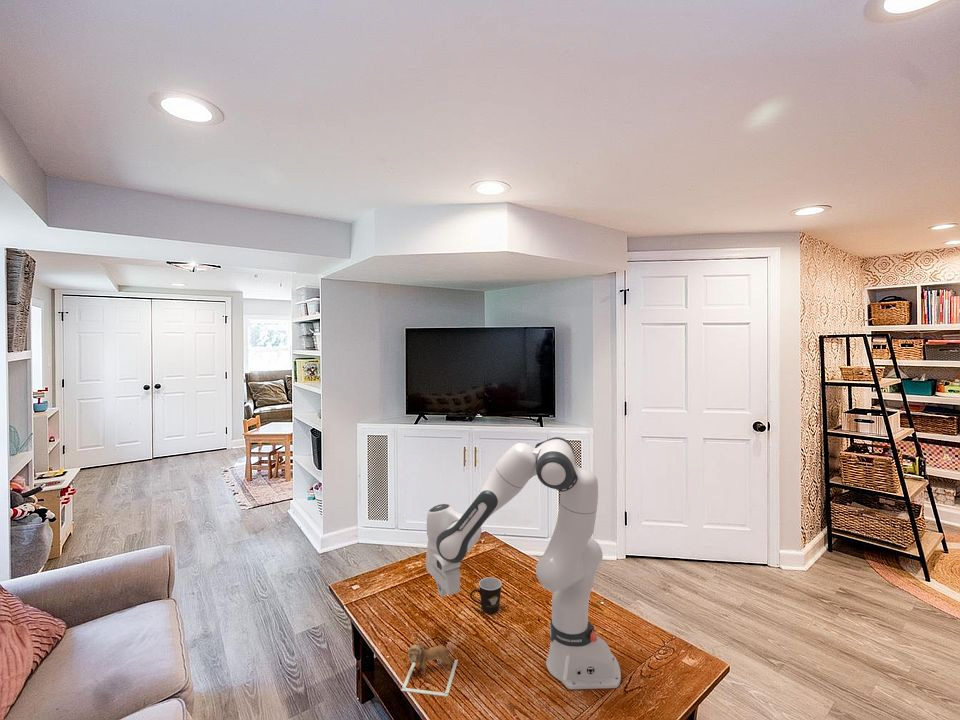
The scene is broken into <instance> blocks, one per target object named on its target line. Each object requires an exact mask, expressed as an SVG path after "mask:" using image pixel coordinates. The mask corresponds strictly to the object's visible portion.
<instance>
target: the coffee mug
mask: <svg viewBox="0 0 960 720" xmlns="http://www.w3.org/2000/svg"><path fill="white" fill-rule="evenodd" d="M475 592H478V594H479V595H480V596H479V597H480V601H479V600H476V599H474V597H472V594H473V593H475ZM501 592H502V581H501V580H500V579H499V578H496V577H493V576H492V577H491V576H490V577H489V576H488V577H484V578H482V579H480V580H479V582H478V589H473V590H471V592H470V594H469V597H470V599H471V600H472V601H473V602H474V603H477V604H479V605H480V606H481V611H482V612H483V613H484V614H486V615H494V614H497V613H498V612H499V609H500V604H501V603H500V602H501V601H500V600H501V594H502V593H501Z"/></svg>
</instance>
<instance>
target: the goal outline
mask: <svg viewBox="0 0 960 720" xmlns="http://www.w3.org/2000/svg"><path fill="white" fill-rule="evenodd" d="M458 662H459V659H454V662H453V665H452V667H451V668H452V669H451V672H450V675H449V679H448V682H447V686H446V689H445V691H444V692H442V691H433V690H426V689H425V690H424V689H417V688H409V687H407V686H408V684H409V681H410V678H411V676H412V673H413V671H414V669H415V666H416V665H417V664H416V663H415V662H414V663H413V662H412V663H411V666H410V668H409V670H408V673H407V675H406V677H405V679H404V682H403V684H402V687H401V689H400V691H401V692H407V693H414V694H423V695H431V696H437V697H449V693H450V690H451V686H452V683H453V679H454V676H455V673H456V672H455V671H456V669H457V665H458Z"/></svg>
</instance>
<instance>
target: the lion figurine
mask: <svg viewBox="0 0 960 720" xmlns="http://www.w3.org/2000/svg"><path fill="white" fill-rule="evenodd" d="M407 655H408V656H407V657H408V659H409V661H410V662H412V663H414V662H415V663H416V664H415V665H418V666H417V668H418V669H419V670H420V669H421V671H420V674H421V675H425V673H426V665H427V662H431V661H434V660H436V659H437V658H439V660H438V661H437V662H436V664H437V665H441V664H442V663H445V664H446V667H445V668H446V669H447V670H450V669H451V668H452V665H451V663H454V661H455V659H452V657H451V653H450V651H449V649H448V648H447V647H446V646H444V645H441V644H437V645H436V646H433V647H428V646H426V645H424V644H420V643H415V644H412V645H411V646H410V647H409V649H408V654H407Z"/></svg>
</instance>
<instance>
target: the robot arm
mask: <svg viewBox="0 0 960 720" xmlns="http://www.w3.org/2000/svg"><path fill="white" fill-rule="evenodd" d="M535 476H537V478H538V480H539V481H540V483H541V484H542V485H544V486H545V487H548V488H550V489H553V490H557V491H558V492H560V499H559V506H558V513H557V519H556V524H555V528H554V530H553V532H552V536H551V537H550V540H549V543H548V544H547V547H546V549H545V551H544V553H543V554H542V556H541V557H540V558H539V560H538V561H537V562H536V564H535V573H536V577H537V580H538V582H539V584H540V585H541V586H542V588H544V589H545V590H546V591H548V592H551V593H552V596H551V597H552V598H551V618H550V623H549V639H550V644H549V650H548V655H547V658H546V663H545V664H546V668H547V670H548V672H549V674H551V676H553V677H554V678H555V679H556V680H558V681H560V683H562V684H563V685H564V686H565V687H566V689H568V690H591V689H593V690H594V689H596V690H597V689H617V688H618V687H619V686H620V684H621V682H622V681H621V680H622V676H621V675H622V674H621V667H620V664H619V661H618V660H617V658H616V656H615V655H614V654H613V653H612V652H611V649H610V647H609V645H608V643H607V642H606V640H604V639H603V638H601V637H600V636H598V635H597V633H596V632H595V626H594V623H593V621H592V620H590V622H589V603H590V602H589V600H590V597H591V596H590V595H591V591H592V588H593V585H594V580H595V576H596V573H597V571H598V569H599V567H600V565H601V563H602V562H603V557H604V556H603V551H602V547H601V545H600V544H599V542H598V541H596V540H595V539H594V538H593V534H594V530H595V524H596V517H597V509H598V505H599V504H598V503H599V501H598V500H599V483H598V482H599V480H598V477H597V476H596V474H595V473H594V472H592V471H591V470H589V469H587V468H584V467H583V468H582V467H579V466H578V465H577V464H576V461H575V451H574V448H573V446H572V444H571V443H570V441H568V440H567V439H566V438H563V437H560V436H554V437H551V438H547V439H546V440H544V441H541V442H537V443H536V445H535V446H534V447H533V446H531V445H529V444H528V443H524V442H518V443H515V444H514V445H513V446H511V447H509V449H507V450H506V452H505V453H504V454H503V455H502V456H501V457H500V458H499V459H498V461H496V463H495V465H494V466H492V469H490V472H489V473H488V475H487V477H486V478H485V479H484V483H482V486H481V488H480V490H479V491H478V493H477V495H476V497H475V498H474V499H473V502H472V503H471V504H470V506H469V507H468V508H467V509H466V511H464V513H461V512H458V511H457V510H456V509H454V508H453V507H452V506H451V505H450V504H448V503H443V504H438V505H435V506H432V507H431V508H430V509H429V510H428V512H427V515H426V535H427V539H428V541H427V543H426V544H427V545H426V548H427V551H426V553H425V568H426V569H425V570H426V571H427V572H428V573H429V574H430V576H431V577H432V578H433V579H434V580H435V583H436V586H437V591H438V592H437V593H438V595H439V596H440V597H442V598H445V597H446V596H447V595H449V596H453V595H456V594H458V593H459V592H460V591H461V571H460V567H461V562H462V561H463V560H464V559H465V557H466V556H467V554H468V553H469V552H470V550H471V549H472V548H473V547H474V546H475V545H476V544H477V542H478V541H479V540H480V539H481V537H482V526H483V524H484V523H485V522H486V521H487V520H488V519H489V518H490V517H491V516H492V515H493V514H495V513H496V512H497V511H498V510H499V509H501V508H502V507H504V506H505V505H507V504H508V503H509V502H510V501H511V500H513V499H514V498H515V497H516V496H517V495H518V494H519V493H520V492H522V489H524V487H525V486H526V485H527V483H528V482H529V481H530V480H531V479H532V478H533V477H535Z"/></svg>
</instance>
